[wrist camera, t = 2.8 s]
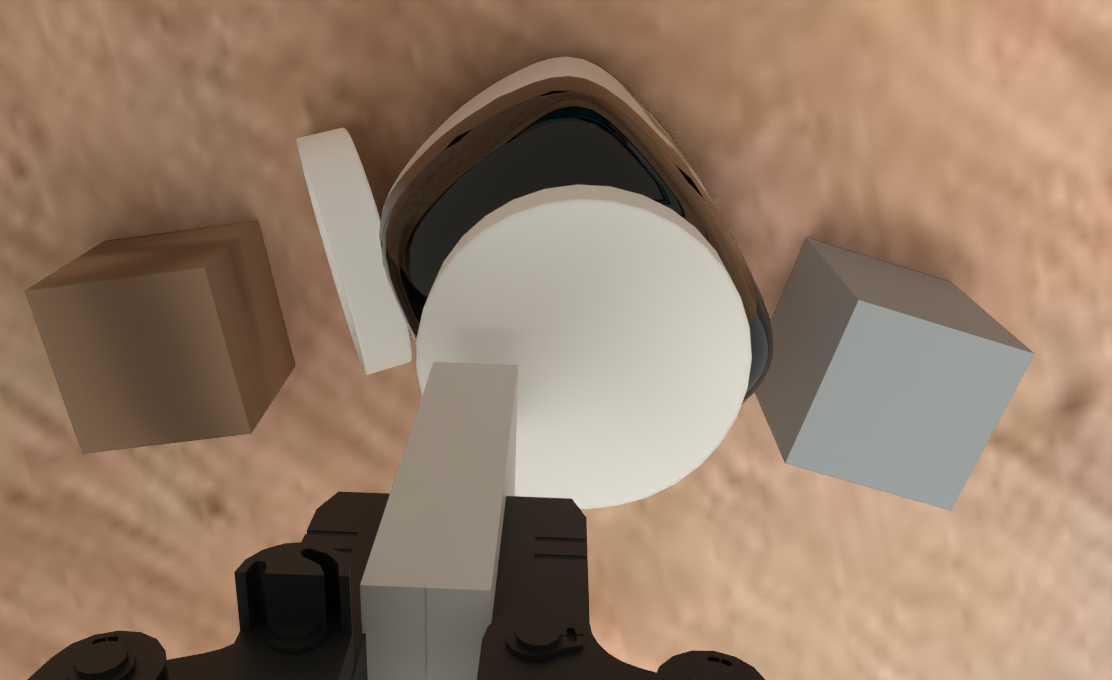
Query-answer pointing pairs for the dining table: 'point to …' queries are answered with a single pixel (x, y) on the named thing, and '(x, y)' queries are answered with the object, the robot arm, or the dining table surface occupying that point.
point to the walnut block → (165, 337)
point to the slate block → (885, 375)
